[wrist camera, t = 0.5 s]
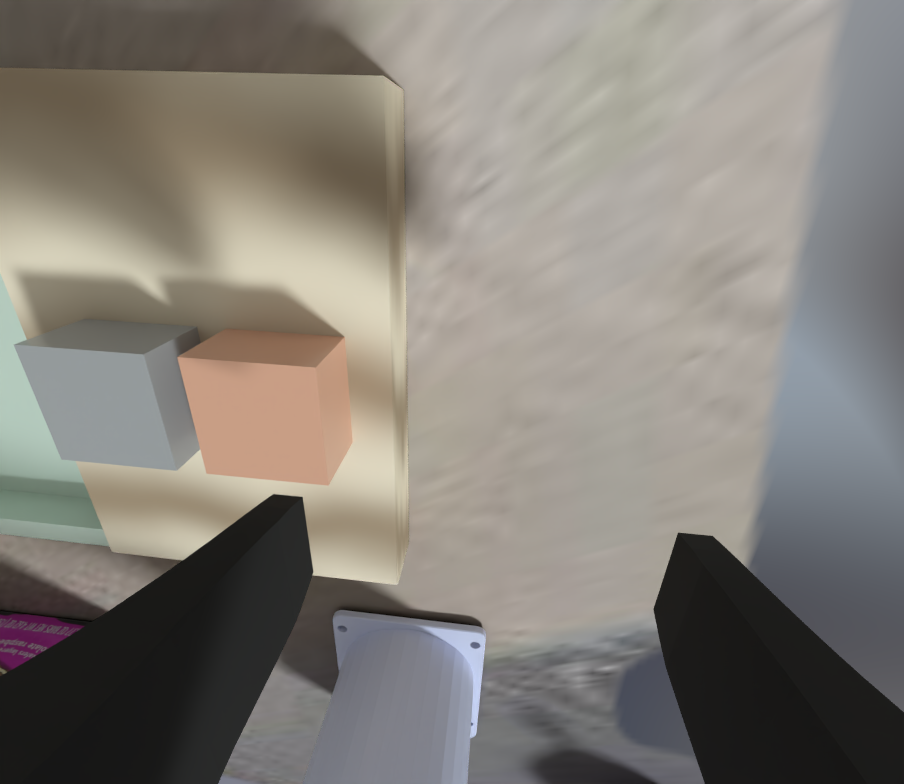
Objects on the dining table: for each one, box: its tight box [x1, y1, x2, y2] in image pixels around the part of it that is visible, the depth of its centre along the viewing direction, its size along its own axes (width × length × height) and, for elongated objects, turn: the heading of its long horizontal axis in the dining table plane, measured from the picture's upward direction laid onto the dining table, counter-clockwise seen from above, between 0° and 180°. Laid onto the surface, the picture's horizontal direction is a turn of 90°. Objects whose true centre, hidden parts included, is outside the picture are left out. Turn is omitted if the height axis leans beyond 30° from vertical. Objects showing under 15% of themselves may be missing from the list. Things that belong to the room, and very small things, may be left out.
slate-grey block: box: [14, 319, 201, 471], centre depth 15 cm, size 4×4×2 cm
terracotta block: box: [177, 329, 353, 486], centre depth 15 cm, size 4×4×2 cm
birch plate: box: [0, 68, 409, 585], centre depth 17 cm, size 18×13×2 cm
